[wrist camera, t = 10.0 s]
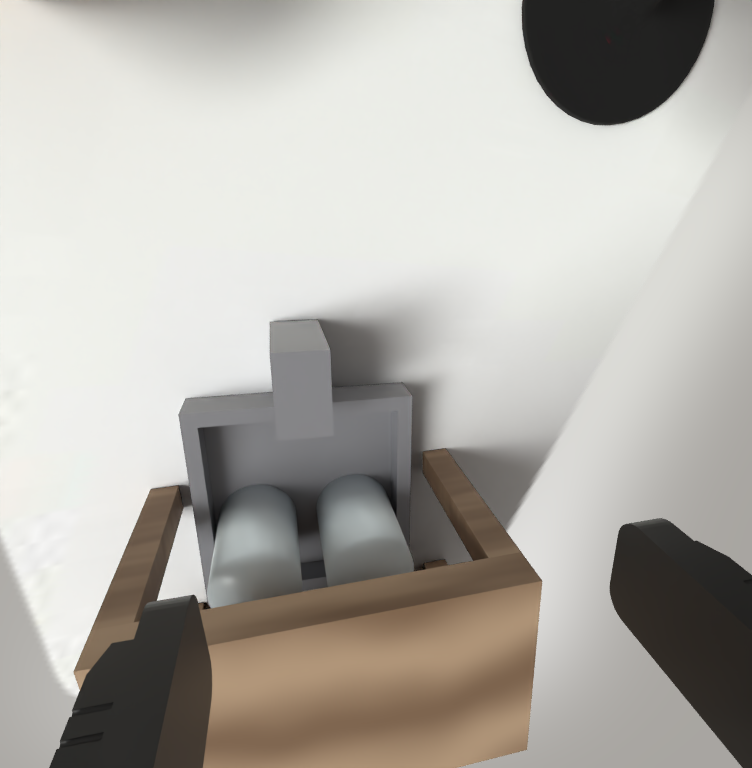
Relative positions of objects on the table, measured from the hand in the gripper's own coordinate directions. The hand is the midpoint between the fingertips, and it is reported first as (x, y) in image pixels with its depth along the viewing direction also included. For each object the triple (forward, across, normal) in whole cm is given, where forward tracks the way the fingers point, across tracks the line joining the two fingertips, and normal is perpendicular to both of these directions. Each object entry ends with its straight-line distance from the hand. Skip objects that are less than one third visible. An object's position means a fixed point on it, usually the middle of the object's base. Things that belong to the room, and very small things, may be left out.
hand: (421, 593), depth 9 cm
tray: (+19, +2, +7) cm, 21 cm away
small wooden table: (+19, +2, +13) cm, 23 cm away
